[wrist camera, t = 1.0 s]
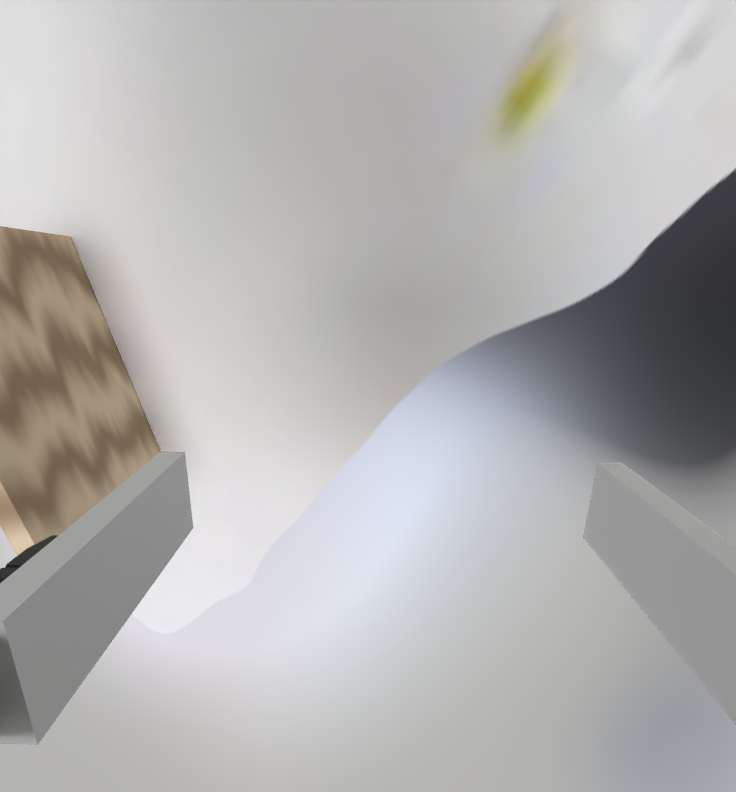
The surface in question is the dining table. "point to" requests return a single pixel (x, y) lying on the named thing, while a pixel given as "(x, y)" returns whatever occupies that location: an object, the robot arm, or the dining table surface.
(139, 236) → the dining table surface
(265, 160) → the dining table surface
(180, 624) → the dining table surface
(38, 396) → the wooden holder
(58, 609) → the robot arm
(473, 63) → the dining table surface
